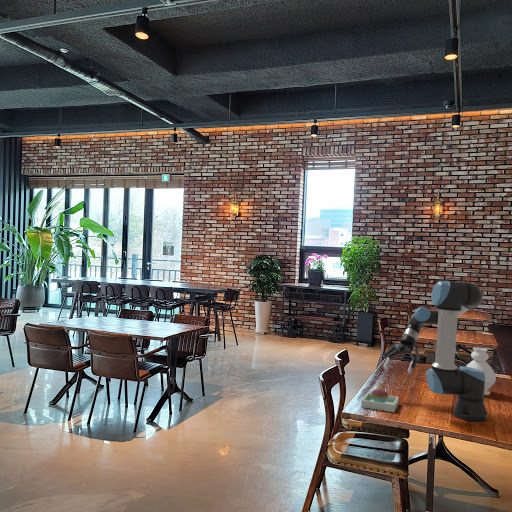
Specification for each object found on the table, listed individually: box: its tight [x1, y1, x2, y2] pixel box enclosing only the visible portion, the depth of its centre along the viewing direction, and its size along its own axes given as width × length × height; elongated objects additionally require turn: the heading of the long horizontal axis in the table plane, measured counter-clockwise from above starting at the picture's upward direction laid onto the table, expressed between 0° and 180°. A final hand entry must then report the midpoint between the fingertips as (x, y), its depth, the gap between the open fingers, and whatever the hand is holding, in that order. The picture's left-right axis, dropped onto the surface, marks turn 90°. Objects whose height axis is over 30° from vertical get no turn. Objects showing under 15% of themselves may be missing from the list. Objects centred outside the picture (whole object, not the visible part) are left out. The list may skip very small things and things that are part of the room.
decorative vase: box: [465, 347, 497, 396], centre depth 294 cm, size 18×18×25 cm
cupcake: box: [370, 381, 389, 403], centre depth 258 cm, size 9×8×12 cm
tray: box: [360, 392, 399, 413], centre depth 258 cm, size 16×16×4 cm
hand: (396, 370), depth 271 cm, fingers open, 13 cm apart
